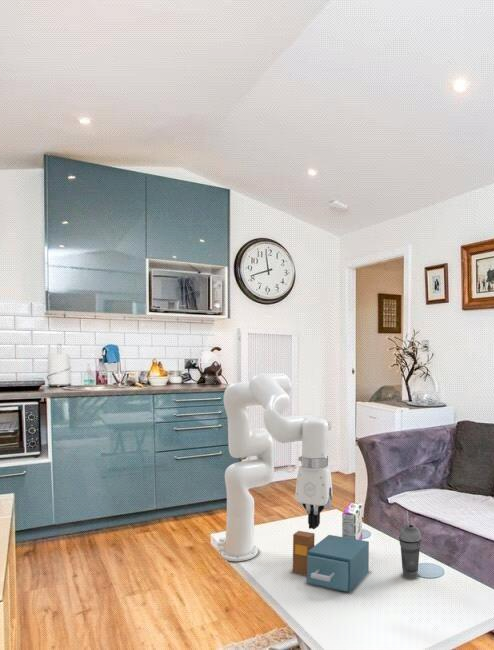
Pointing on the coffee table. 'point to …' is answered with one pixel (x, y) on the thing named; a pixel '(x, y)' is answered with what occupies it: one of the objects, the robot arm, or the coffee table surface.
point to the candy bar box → (352, 521)
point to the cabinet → (345, 556)
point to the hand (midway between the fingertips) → (313, 527)
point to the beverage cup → (410, 550)
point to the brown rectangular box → (301, 550)
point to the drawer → (327, 572)
